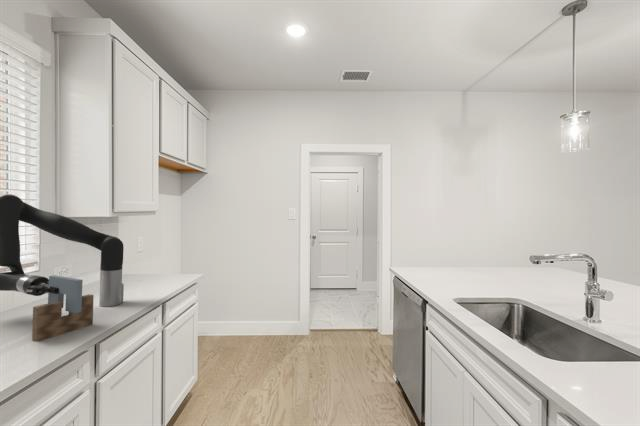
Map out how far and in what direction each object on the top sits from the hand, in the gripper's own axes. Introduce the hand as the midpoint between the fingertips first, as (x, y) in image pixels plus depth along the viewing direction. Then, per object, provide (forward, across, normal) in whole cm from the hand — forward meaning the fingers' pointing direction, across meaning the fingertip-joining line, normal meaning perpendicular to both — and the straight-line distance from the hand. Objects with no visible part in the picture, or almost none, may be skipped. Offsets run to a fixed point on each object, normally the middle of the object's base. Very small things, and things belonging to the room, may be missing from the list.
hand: (61, 290), depth 128 cm
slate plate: (+2, 0, +7) cm, 7 cm away
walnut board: (+2, 0, +16) cm, 16 cm away
